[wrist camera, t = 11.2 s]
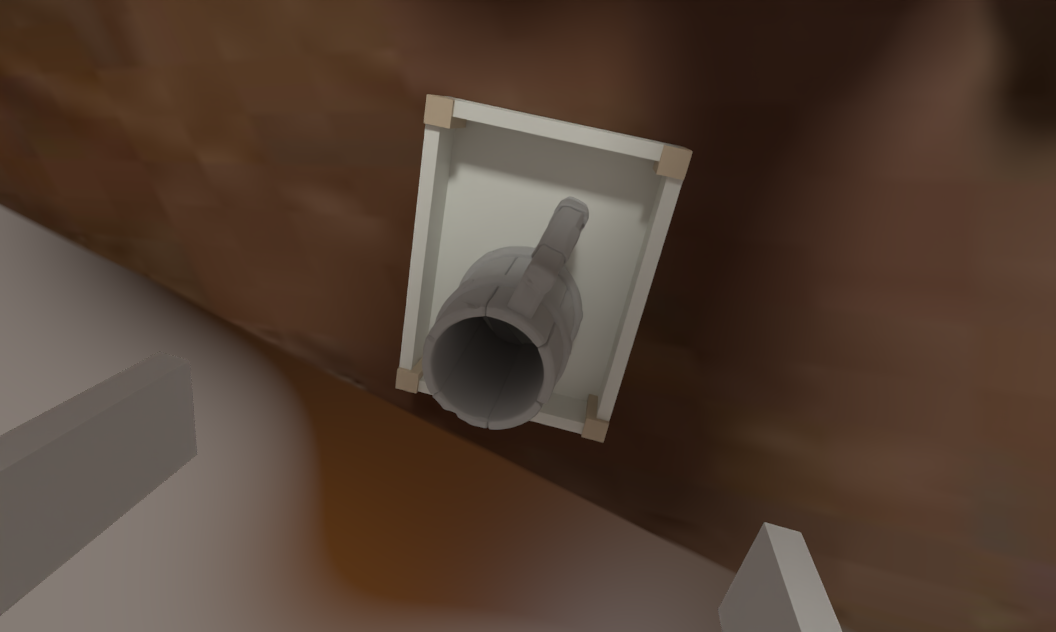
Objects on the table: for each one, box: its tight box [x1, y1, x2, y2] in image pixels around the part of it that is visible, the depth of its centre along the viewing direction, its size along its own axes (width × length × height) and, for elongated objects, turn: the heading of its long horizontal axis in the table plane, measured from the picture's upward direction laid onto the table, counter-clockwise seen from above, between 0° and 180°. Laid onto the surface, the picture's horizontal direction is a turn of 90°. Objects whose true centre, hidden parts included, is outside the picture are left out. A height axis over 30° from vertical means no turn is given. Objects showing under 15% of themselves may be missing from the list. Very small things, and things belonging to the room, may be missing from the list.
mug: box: [422, 196, 589, 430], centre depth 26 cm, size 8×12×12 cm, turn 153°
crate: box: [395, 94, 693, 443], centre depth 31 cm, size 18×14×4 cm
